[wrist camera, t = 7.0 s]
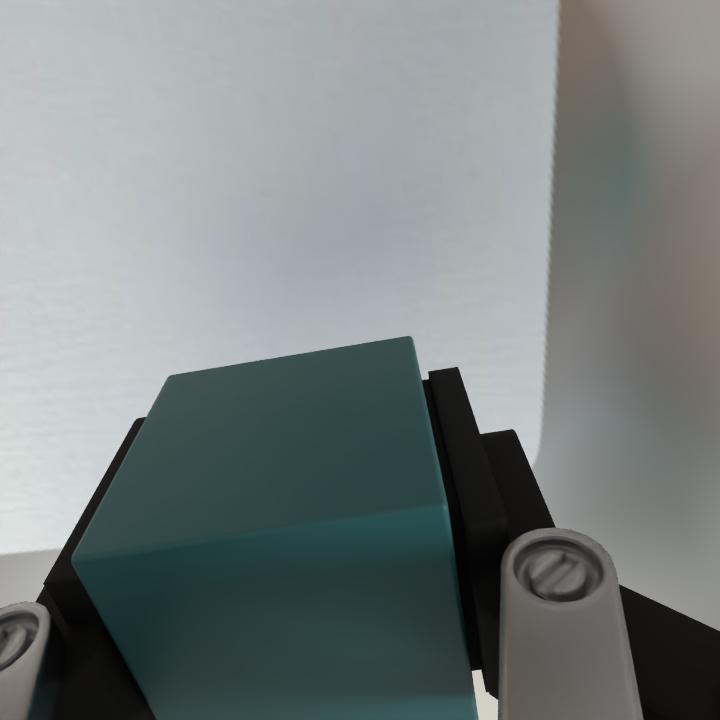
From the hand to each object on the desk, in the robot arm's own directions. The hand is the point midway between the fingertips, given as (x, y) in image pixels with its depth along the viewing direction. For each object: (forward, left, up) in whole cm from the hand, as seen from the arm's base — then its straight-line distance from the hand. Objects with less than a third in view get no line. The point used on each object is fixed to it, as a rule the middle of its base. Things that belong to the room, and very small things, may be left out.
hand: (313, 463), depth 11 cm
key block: (0, 0, 0) cm, 0 cm away
